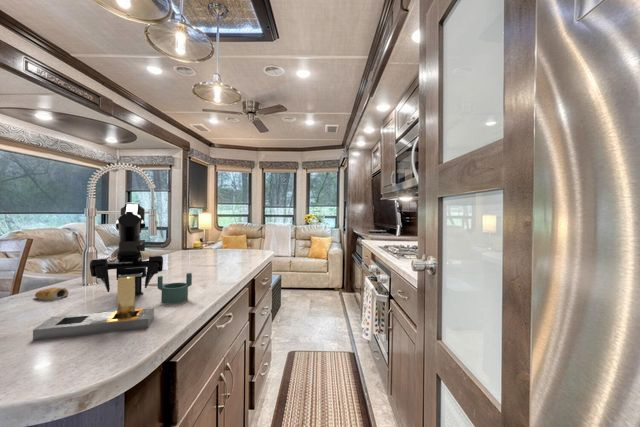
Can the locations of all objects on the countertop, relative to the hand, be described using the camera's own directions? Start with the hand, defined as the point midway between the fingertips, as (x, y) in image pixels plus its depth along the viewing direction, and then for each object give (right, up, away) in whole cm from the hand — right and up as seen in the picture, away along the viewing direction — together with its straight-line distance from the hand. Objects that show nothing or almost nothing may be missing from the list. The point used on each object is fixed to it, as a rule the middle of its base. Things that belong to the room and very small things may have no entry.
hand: (127, 289), depth 87 cm
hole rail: (-2, -8, -8) cm, 12 cm away
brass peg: (+4, -8, -6) cm, 11 cm away
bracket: (+6, -8, +17) cm, 19 cm away
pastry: (-37, -8, +16) cm, 41 cm away
